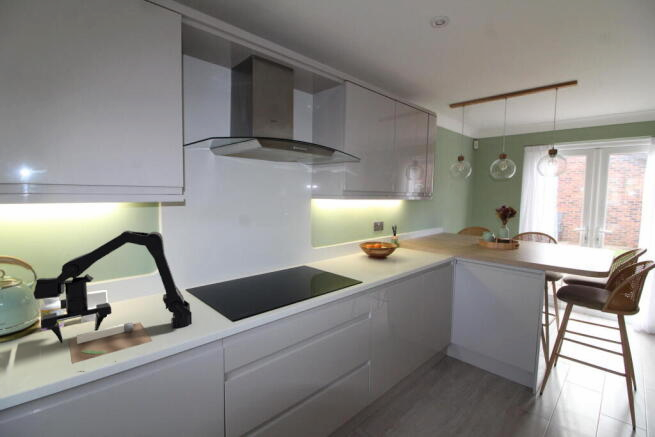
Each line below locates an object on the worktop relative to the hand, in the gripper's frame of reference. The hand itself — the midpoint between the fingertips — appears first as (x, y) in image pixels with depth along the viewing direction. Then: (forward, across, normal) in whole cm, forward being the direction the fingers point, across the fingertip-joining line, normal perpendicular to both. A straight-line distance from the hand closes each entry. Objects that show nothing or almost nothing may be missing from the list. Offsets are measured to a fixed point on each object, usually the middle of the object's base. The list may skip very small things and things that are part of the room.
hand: (79, 338), depth 107 cm
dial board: (+2, -8, +6) cm, 11 cm away
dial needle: (+1, -8, +2) cm, 8 cm away
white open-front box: (+3, -6, -22) cm, 23 cm away
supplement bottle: (+3, +7, -23) cm, 24 cm away
